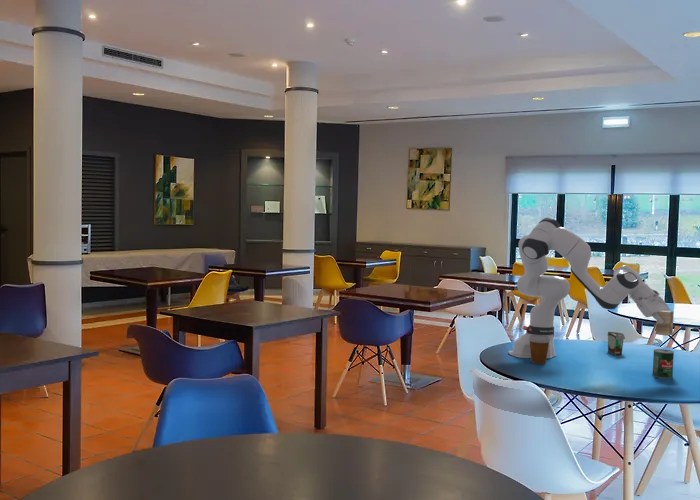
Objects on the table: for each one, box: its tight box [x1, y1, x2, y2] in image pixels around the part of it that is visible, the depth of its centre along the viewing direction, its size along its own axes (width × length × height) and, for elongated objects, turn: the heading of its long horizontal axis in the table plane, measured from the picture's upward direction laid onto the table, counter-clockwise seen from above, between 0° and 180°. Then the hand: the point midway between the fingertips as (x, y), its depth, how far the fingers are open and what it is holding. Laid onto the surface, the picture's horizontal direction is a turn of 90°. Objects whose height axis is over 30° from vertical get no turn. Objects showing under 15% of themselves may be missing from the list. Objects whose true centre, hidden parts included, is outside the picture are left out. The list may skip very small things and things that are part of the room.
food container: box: [607, 331, 626, 356], centre depth 345 cm, size 12×6×10 cm, turn 179°
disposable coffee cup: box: [529, 335, 550, 365], centre depth 318 cm, size 10×10×12 cm
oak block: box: [655, 310, 675, 337], centre depth 294 cm, size 5×5×10 cm
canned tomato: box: [652, 348, 675, 380], centre depth 295 cm, size 8×8×11 cm
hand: (666, 322), depth 294 cm, fingers closed on oak block, 5 cm apart
